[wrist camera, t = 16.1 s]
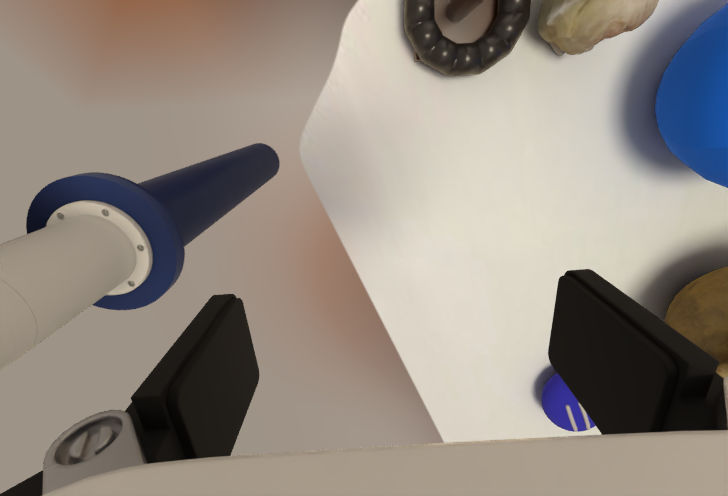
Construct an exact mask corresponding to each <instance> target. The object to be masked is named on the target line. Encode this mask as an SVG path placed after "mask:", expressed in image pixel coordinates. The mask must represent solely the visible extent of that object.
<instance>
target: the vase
mask: <svg viewBox="0 0 728 496" xmlns="http://www.w3.org/2000/svg"><path fill="white" fill-rule="evenodd" d="M655 113H656V119H657V125H658V128H659V131H660V133H661V135H662V137H663V139H664V141H665V143H666V145H667V147H668V149H669V150H670V152H672V153H673V154H674V155H675V156H676V157H677V158H678V159H679V160H681V161H682V162H683V163H684V164H686V165H687V166H688V167H690V168H691V169H692V170H694V171H695V172H696V173H698V174H699V175H701V176H702V177H703V178H705V179H706V180H709V181H711V182H714V183H717V184H719V185H722V186H724V187H727V188H728V4H726V5H725V6H724V7H722V8H721V9H720V10H718V11H717V12H716V13H715V14H713V15H712V16H711V17H709V18H708V19H707V20H706V21H704V22H703V23H702V24H701V25H700V26H699V27H698V28H697V29H696V31H695V32H694V33H693V34H692V35H691V36H690V37H689V39H688V40H687V41H686V42H685V43H684V44H683V45H682V47H681V48H680V49H679V50H678V52H677V53H676V54H675V55H674V57H673V58H672V60H671V62H670V63H669V65H668V67H667V68H666V70H665V72H664V74H663V76H662V79H661V82H660V85H659V88H658V91H657V95H656V105H655Z"/></svg>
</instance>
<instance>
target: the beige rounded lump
mask: <svg viewBox="0 0 728 496" xmlns="http://www.w3.org/2000/svg"><path fill="white" fill-rule="evenodd" d="M542 1H543V4H542V8H541V11H540V15H539V21H538V32H539V34H540V36H541V37H542V38H543V39H544V40H545V41H547V42H548V43H549V44H550V45H551V47H552V48H553V50H554V51H555V52H556V53H557V54H558V55H562V54H563V53H564V52H566V53H567V54H570V55H575V54H581V53H583V52H587V51H589V50H591V49H592V48H593V47H594V45H595V44H597V43H599V42H600V41H601V40H603V39H605V38H611V37H614V36H617V35H619V34H621V33H623V32H627V31H632V30H634V29H636V28H638V27H639V26H640V25H641V24H643V23H644V22H645V21H646V20H647V19H648V18H649V17H650V16H651V15H652V14H653V12H654V10H655V8H656V6H657V4H658V1H659V0H542Z"/></svg>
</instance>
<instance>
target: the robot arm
mask: <svg viewBox="0 0 728 496" xmlns="http://www.w3.org/2000/svg"><path fill="white" fill-rule="evenodd" d="M152 264H153V251H152V248H151V244H150V241H149V239H148V237H147V235H146V233H145V232H144V231H143V229H142V228H141V226H140V225H139V224H138V223H137V222H136V221H135V220H134V219H133V218H132V217H131V216H129V215H128V214H127V213H125V212H124V211H122V210H120V209H119V208H117V207H115V206H113V205H110V204H107V203H105V202H100V201H95V200H82V201H76V202H72V203H70V204H67V205H64V206H62V207H61V208H59V209H57V210H56V211H55V212H54V213H53V214H52V215H51V217H50V218H49V220H48V222H47V225H46V227H45V228H43V229H40V230H37V231H35V232H32V233H29V234H27V235H24V236H22V237H19V238H16V239H14V240H11V241H8V242H6V243H3V244H1V245H0V372H1V371H2V370H3V369H5V368H6V367H7V366H9V365H10V364H11V363H13V362H14V361H15V360H17V359H18V358H20V357H21V356H22V355H23V354H25V353H26V352H28V351H29V350H31V349H32V348H33V347H35V346H36V345H37V344H39V343H40V342H42V341H43V340H44V339H46V338H47V337H49V336H50V335H51V334H53V333H54V332H55V331H57V330H58V329H59V328H61V327H62V326H63V325H65V324H66V323H68V322H69V321H70V320H72V319H73V318H74V317H76V316H77V315H78V314H80V313H81V312H83V311H84V310H85V309H87V308H88V307H90V306H91V305H92V304H94V303H95V302H96V301H98V300H99V299H100V298H102V297H103V296H105V295H119V294H124V293H127V292H130V291H132V290H134V289H135V288H137V287H138V286H139V285H140V284H142V283H143V282H144V281H145V280H146V278H147V277H148V276H149V274H150V271H151V269H152ZM548 355H549V360H550V362H551V364H552V366H553V367H554V369H555V370H556V371H557V373H558V374H559V376H560V377H561V378H562V380H563V381H564V382H565V384H566V385H567V387H568V388H569V389H570V391H571V392H572V393H573V395H574V396H575V398H576V399H577V400H578V402H579V403H580V404H581V406H582V407H583V409H584V410H585V411H586V413H587V414H588V415H589V417H590V418H591V420H592V421H593V422H594V424H595V425H596V426H597V428H598V429H599V431H600V432H601V433H602V435H588V436H568V437H548V438H528V439H508V440H490V441H471V442H453V443H437V444H436V443H435V444H418V445H401V446H383V447H365V448H351V449H350V448H349V449H334V450H318V451H301V452H285V453H268V454H253V455H237V456H230V455H231V452H232V449H233V447H234V444H235V442H236V439H237V436H238V434H239V431H240V429H241V426H242V423H243V421H244V418H245V415H246V413H247V410H248V407H249V405H250V402H251V400H252V397H253V395H254V392H255V389H256V387H257V384H258V380H259V369H258V365H257V360H256V356H255V352H254V348H253V344H252V339H251V335H250V331H249V327H248V323H247V318H246V314H245V310H244V306H243V302H242V300H241V299H240V298H236V296H235V295H234V294H224V295H213V296H212V297H211V298H210V299H209V301H208V302H207V303H206V304H205V306H204V307H203V308H202V309H201V311H200V312H199V313H198V314H197V316H196V317H195V318H194V319H193V321H192V322H191V323H190V325H189V326H188V327H187V328H186V329H185V331H184V332H183V333H182V334H181V336H180V337H179V338H178V339H177V341H176V342H175V343H174V345H173V346H172V347H171V348H170V349H169V351H168V352H167V353H166V354H165V356H164V357H163V358H162V359H161V361H160V362H159V363H158V364H157V366H156V367H155V368H154V369H153V371H152V372H151V373H150V374H149V376H148V377H147V378H146V380H145V381H144V382H143V383H142V384H141V386H140V387H139V388H138V390H137V391H136V392H135V393H134V394H133V396H132V397H131V400H132V403H131V404H130V405H129V407H128V408H127V409H126V411H122V410H109V411H104V412H100V413H97V414H94V415H92V416H89V417H87V418H85V419H83V420H82V421H80V422H78V423H76V424H74V425H73V426H72V427H70V428H69V429H68V430H66V431H65V432H63V433H62V434H61V435H60V436H59V437H58V438H57V439H56V440H55V441H54V442H53V443H52V445H51V446H50V448H49V449H48V451H47V452H46V455H45V459H44V462H43V464H44V465H43V471H41V472H39V473H37V474H35V475H34V476H32V477H30V478H28V479H26V480H25V481H23V482H21V483H19V484H18V485H16V486H14V487H12V488H10V489H9V490H7V491H5V492H3V493H1V494H0V496H728V375H727V376H726V377H725V378H723V377H721V376H720V375H719V374H717V373H716V370H717V367H718V364H719V361H718V360H716V359H715V358H713V357H712V356H711V355H709V354H708V353H706V352H705V351H704V350H702V349H701V348H699V347H698V346H697V345H695V344H694V343H692V342H691V341H690V340H688V339H687V338H686V337H684V336H683V335H681V334H680V333H679V332H677V331H676V330H674V329H673V328H672V327H670V326H669V325H667V324H666V323H665V322H663V321H662V320H660V319H659V318H658V317H656V316H655V315H654V314H652V313H651V312H649V311H648V310H647V309H645V308H644V307H642V306H641V305H640V304H638V303H637V302H635V301H634V300H633V299H631V298H630V297H628V296H627V295H626V294H624V293H623V292H621V291H620V290H619V289H617V288H616V287H615V286H613V285H612V284H610V283H609V282H608V281H606V280H605V279H603V278H602V277H601V276H599V275H598V274H596V273H595V272H594V271H592V270H590V269H585V270H571V271H567V272H566V273H565V275H564V276H561V277H560V278H559V281H558V288H557V295H556V302H555V309H554V316H553V323H552V330H551V336H550V343H549V350H548Z"/></svg>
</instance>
